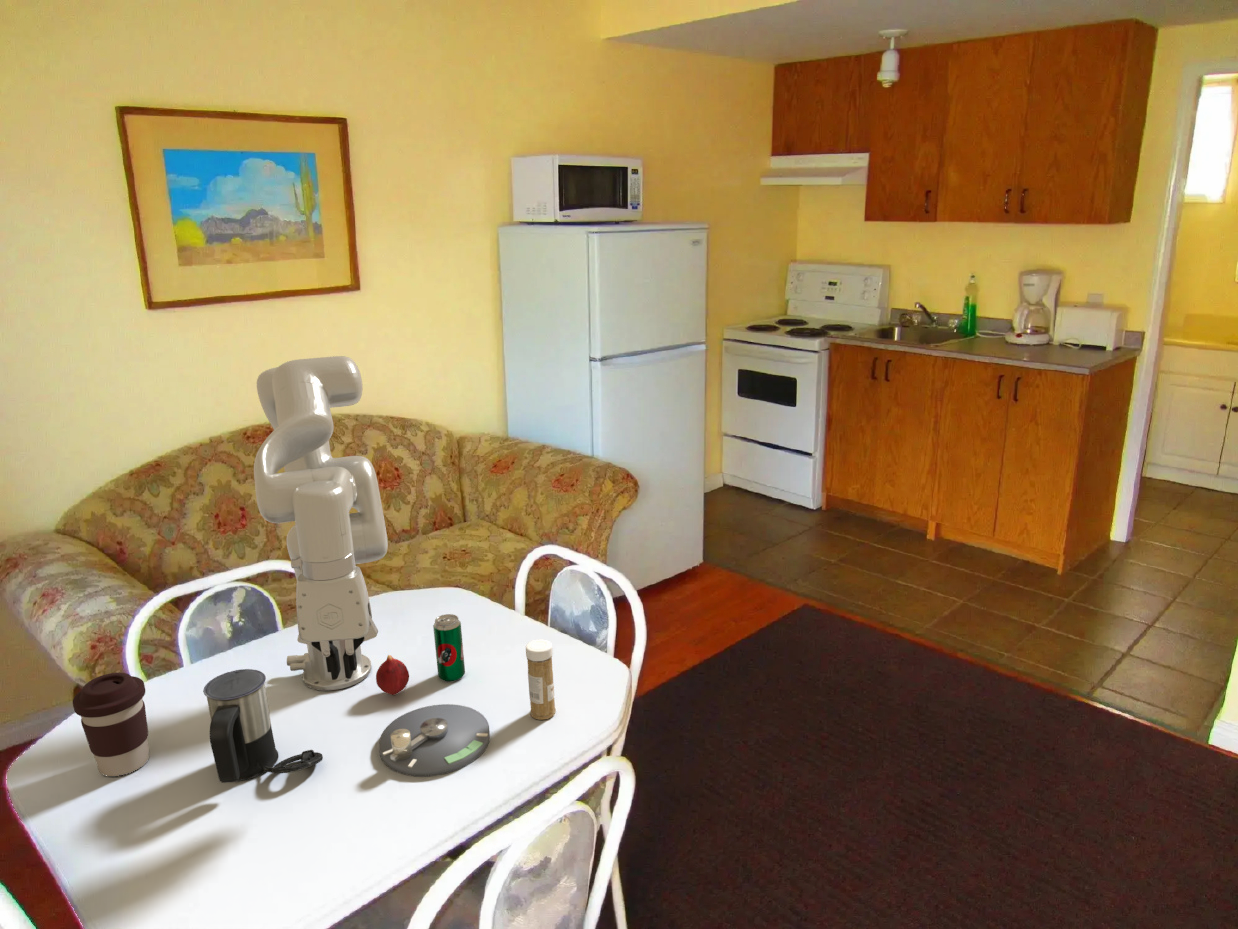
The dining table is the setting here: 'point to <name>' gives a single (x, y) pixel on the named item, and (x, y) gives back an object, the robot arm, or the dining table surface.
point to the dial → (438, 741)
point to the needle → (403, 742)
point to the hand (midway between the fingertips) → (343, 674)
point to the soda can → (449, 648)
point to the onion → (392, 676)
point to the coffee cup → (114, 722)
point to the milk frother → (245, 728)
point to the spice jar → (540, 679)
